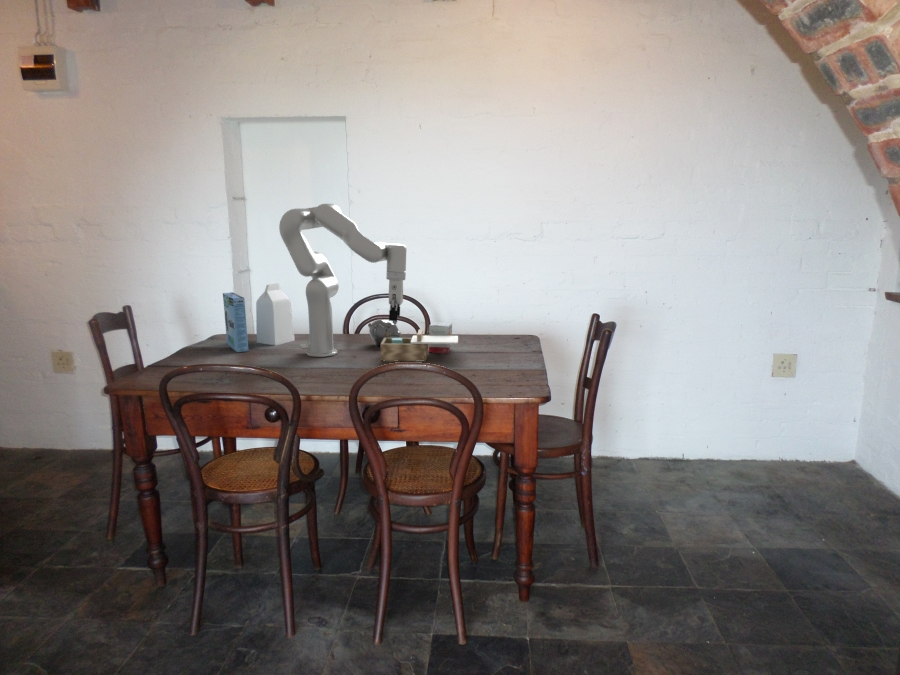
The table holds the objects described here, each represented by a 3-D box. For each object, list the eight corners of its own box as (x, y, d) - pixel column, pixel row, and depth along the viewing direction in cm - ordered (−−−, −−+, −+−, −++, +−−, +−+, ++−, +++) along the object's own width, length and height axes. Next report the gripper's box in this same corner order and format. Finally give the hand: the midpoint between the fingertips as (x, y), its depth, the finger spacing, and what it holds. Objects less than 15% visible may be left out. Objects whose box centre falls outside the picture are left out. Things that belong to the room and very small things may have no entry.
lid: (410, 343, 247) (410, 335, 246) (413, 337, 259) (412, 328, 259) (457, 344, 247) (457, 335, 246) (458, 337, 259) (458, 329, 258)
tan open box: (380, 361, 249) (380, 344, 248) (384, 354, 261) (384, 337, 259) (426, 361, 249) (426, 344, 247) (427, 354, 260) (427, 338, 259)
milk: (275, 345, 276) (272, 286, 271) (256, 342, 282) (253, 284, 277) (294, 340, 287) (291, 283, 281) (276, 337, 292) (273, 281, 287)
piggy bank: (396, 349, 270) (395, 322, 268) (363, 346, 274) (363, 320, 272) (404, 343, 281) (404, 318, 278) (373, 341, 285) (373, 316, 282)
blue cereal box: (248, 351, 265) (245, 297, 260) (236, 352, 262) (232, 298, 258) (237, 342, 281) (234, 292, 276) (225, 344, 279) (222, 292, 274)
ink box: (448, 353, 262) (448, 325, 260) (428, 352, 264) (428, 325, 262) (452, 349, 271) (452, 322, 268) (432, 348, 272) (432, 321, 270)
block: (392, 357, 253) (391, 340, 251) (392, 354, 257) (392, 338, 255) (402, 357, 253) (401, 340, 251) (402, 354, 257) (402, 338, 255)
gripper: (403, 278, 240) (401, 322, 244) (407, 273, 257) (405, 314, 261) (383, 277, 240) (382, 321, 244) (389, 272, 257) (387, 313, 261)
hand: (394, 318), depth 252 cm, fingers open, 9 cm apart
